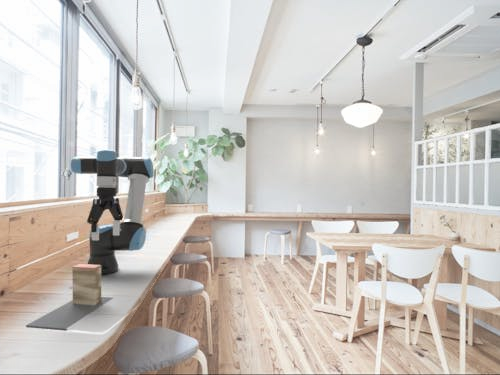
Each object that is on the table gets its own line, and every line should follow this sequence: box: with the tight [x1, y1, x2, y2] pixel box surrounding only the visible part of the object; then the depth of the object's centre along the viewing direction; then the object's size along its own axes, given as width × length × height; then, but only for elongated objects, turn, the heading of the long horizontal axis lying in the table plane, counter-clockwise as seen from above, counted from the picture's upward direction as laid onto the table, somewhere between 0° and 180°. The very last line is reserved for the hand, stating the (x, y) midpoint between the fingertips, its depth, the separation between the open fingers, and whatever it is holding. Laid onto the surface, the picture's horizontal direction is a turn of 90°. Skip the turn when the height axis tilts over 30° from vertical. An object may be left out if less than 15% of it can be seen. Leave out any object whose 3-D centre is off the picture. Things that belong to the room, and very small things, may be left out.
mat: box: [25, 296, 113, 332], centre depth 112 cm, size 26×14×1 cm, turn 172°
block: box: [71, 263, 102, 305], centre depth 119 cm, size 4×9×14 cm, turn 82°
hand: (106, 237), depth 132 cm, fingers open, 13 cm apart
